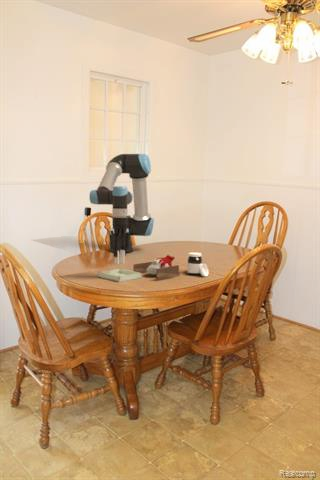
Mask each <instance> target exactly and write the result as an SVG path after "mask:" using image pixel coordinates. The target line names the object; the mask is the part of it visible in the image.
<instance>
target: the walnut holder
mask: <svg viewBox="0 0 320 480" xmlns="http://www.w3.org/2000/svg"><path fill="white" fill-rule="evenodd" d="M151 263H153V261H147V262H141V263H135V264H133V269H132V271H134V272H139V273H142V275H143V274H148V273H147V272H146V270H147V268H148V267H149V266H150V265H151ZM155 275H156V276H155V277H156V279H155V280H156V282H157V281H158V282H159V281H163V280H168V279H173V278H178V277H181V276H180V275H181V272H180V265H179V264H177V265H176V264H175V265H172V266H170V267H164V268H158V269H156V274H155Z"/></svg>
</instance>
